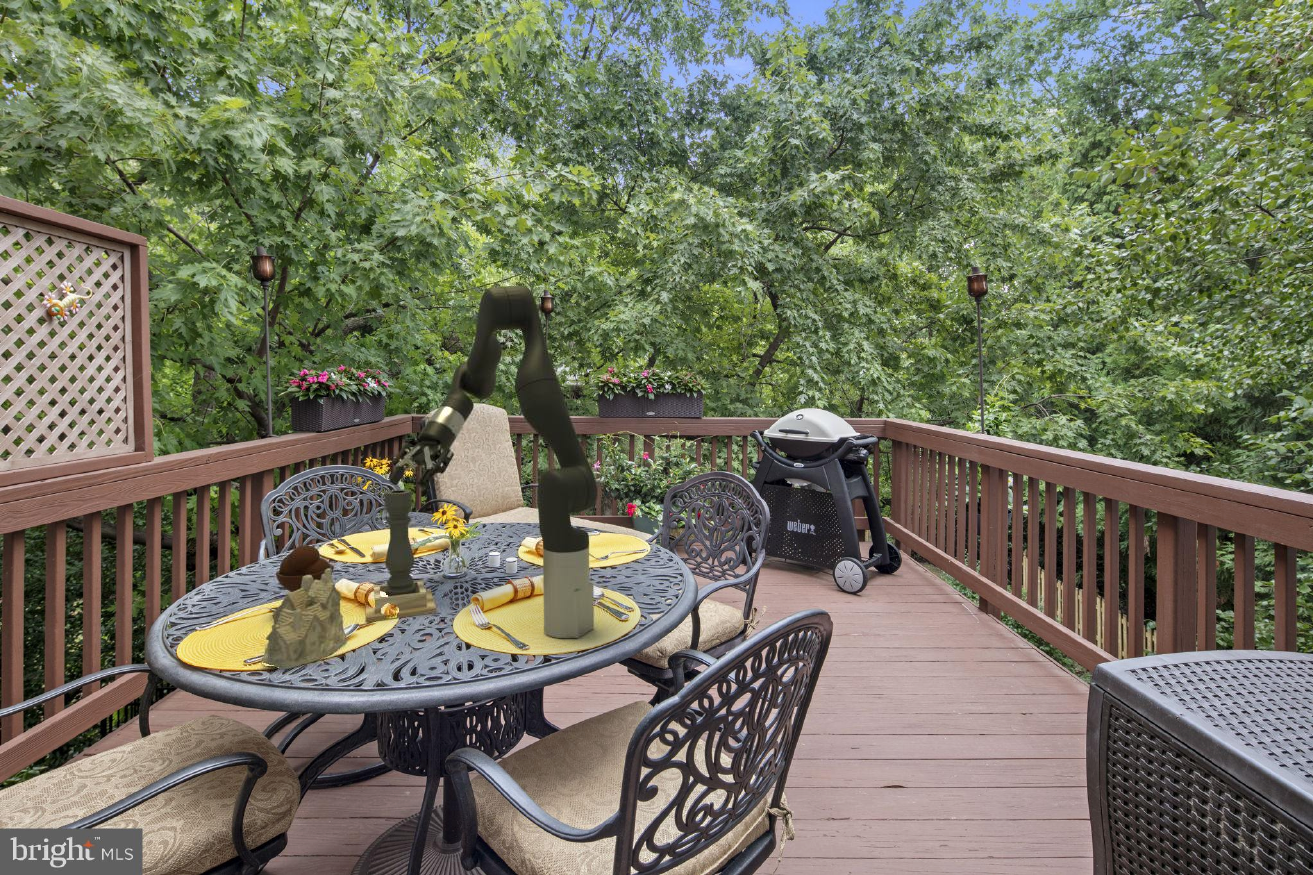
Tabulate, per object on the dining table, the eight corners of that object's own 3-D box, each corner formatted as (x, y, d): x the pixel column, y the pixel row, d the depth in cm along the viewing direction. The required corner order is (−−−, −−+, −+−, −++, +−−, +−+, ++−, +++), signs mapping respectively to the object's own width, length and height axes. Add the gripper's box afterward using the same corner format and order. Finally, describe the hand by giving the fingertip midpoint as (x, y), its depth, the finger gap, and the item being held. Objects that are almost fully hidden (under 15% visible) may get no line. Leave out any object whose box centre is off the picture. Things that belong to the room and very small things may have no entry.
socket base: (436, 612, 140) (435, 594, 140) (366, 622, 135) (365, 603, 134) (430, 593, 153) (429, 576, 153) (365, 601, 147) (365, 584, 147)
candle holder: (405, 607, 140) (402, 494, 138) (380, 605, 141) (376, 493, 139) (421, 598, 146) (418, 490, 144) (396, 596, 147) (393, 488, 145)
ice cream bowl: (346, 607, 144) (343, 541, 142) (299, 624, 133) (296, 553, 132) (313, 600, 148) (310, 536, 147) (266, 616, 138) (263, 547, 137)
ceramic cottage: (310, 625, 132) (304, 556, 130) (364, 644, 125) (359, 570, 122) (231, 659, 119) (223, 582, 116) (286, 681, 111) (279, 600, 109)
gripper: (411, 418, 154) (373, 472, 144) (457, 420, 148) (420, 476, 138) (428, 438, 159) (392, 491, 150) (473, 441, 153) (439, 496, 144)
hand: (406, 484), depth 144 cm, fingers open, 8 cm apart
